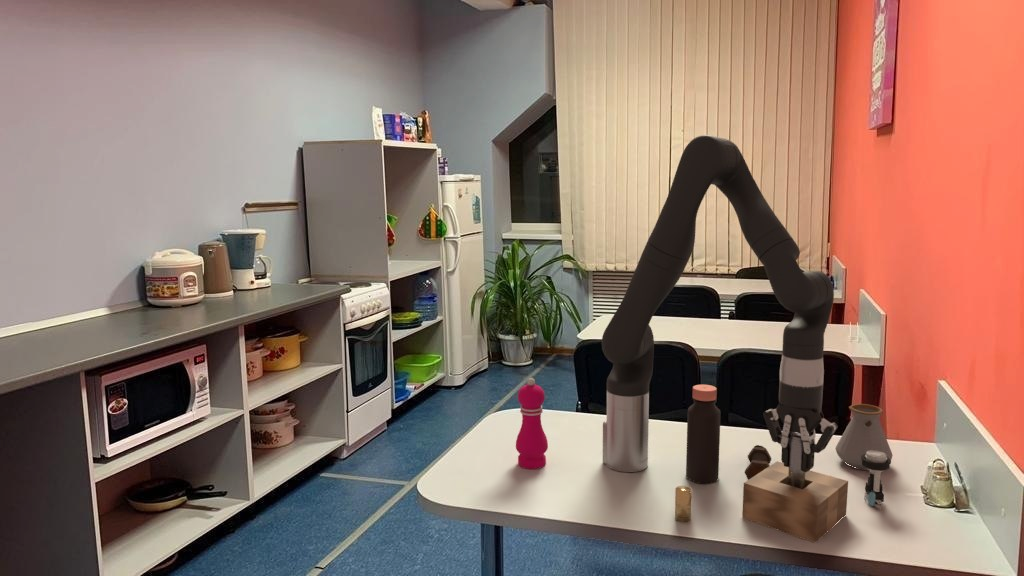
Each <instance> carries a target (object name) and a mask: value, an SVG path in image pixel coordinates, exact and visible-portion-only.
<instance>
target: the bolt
mask: <svg viewBox="0 0 1024 576" xmlns="http://www.w3.org/2000/svg"><path fill="white" fill-rule="evenodd" d="M747 460H748V461H749V464H748V465H747V467H746V469H745V470H744V474H745V476H746V479H747V480H749V479H751V478H752V477H754V476H755V475H757V474H758V473H760V472H761V471H763V470H764V469H766V468H768V467H769V466H770V463H771V461H772V456H771V454H770V453H769V451H768V449H767V448H766V447H765V446H763V445H759V444H758V445H757V444H756V445H755V446H753V448H752V449H751V450H750V451H749V453H748V454H747Z"/></svg>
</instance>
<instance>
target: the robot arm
mask: <svg viewBox="0 0 1024 576" xmlns="http://www.w3.org/2000/svg"><path fill="white" fill-rule="evenodd" d="M711 185H714V187H716V188H717V189H718V190H719V191H720V192H721V193H722V194H723V195H724V196H725V197H726V198H727V200H728V201H729V203H730V204H731V205H732V207H733V210H734V211H735V214H736V216H737V219H738V223H739V226H740V230H741V232H742V234H743V236H744V238H745V239H744V240H745V241H746V243H747V244H748V246H749V247H750V249H751V250H752V251H753V253H754V255H755V256H756V258H757V259H758V260H759V261H760V263H761V264H762V265H763V267H764V270H765V272H766V276H767V278H768V281H769V283H770V286H771V289H772V291H773V292H772V293H774V296H775V297H776V299H777V301H778V302H779V303H780V305H781V306H782V307H784V308H785V309H786V310H788V311H789V312H792V313H794V316H793V318H792V320H791V321H790V322H789V323H788V324H786V325H785V327H784V329H783V334H782V349H781V350H782V351H781V361H780V367H779V373H778V375H779V385H778V405H777V407H776V408H774V409H773V408H769V409H768V410H767V409H766V410H765V411H763V413H762V415H763V419H764V422H765V424H766V427H767V430H768V433H769V436H770V439H771V441H772V442H773V443H778V444H779V445H780V446H781V459H780V461H781V463H784V466H785V467H789V449H790V435H791V434H792V433H800V434H801V440H802V441H803V446H804V453H803V465H802V471H804V472H808V471H809V470H810V471H811V469H813V468H814V466H815V453H816V454H819V453H821V452H822V451H824V450H825V449H826V447H827V446H828V445H829V443H830V441H831V439H832V437H833V436H834V434H835V433H836V430H837V429H838V424H837V423H836V422H830V421H829V420H827V419H826V418H825V417H824V413H823V410H822V406H823V394H824V392H823V391H824V375H825V369H824V368H825V367H824V365H825V364H824V350H825V349H824V348H825V347H824V346H825V333H826V329H827V326H828V323H829V321H830V318H831V317H830V316H831V313H832V308H833V305H834V300H835V299H834V298H835V297H834V296H835V292H834V286H833V282H832V280H831V279H830V277H829V276H828V275H827V274H826V273H824V272H823V271H820V270H815V269H814V270H812V269H811V270H806V271H802V270H801V269H802V268H801V267H800V265H799V264H798V261H797V260H798V259H799V257H800V254H801V253H800V252H801V251H800V247H799V246H798V244H797V243H796V241H795V240H794V238H793V237H792V235H791V234H790V233H789V231H788V230H787V229H786V228H785V226H784V224H783V223H782V222H781V221H780V219H779V217H778V216H777V215H776V213H775V212H774V211H773V208H771V206H770V204H769V203H768V202H767V199H766V198H765V197H764V195H763V193H762V191H761V190H760V188H759V186H758V184H757V183H756V180H755V179H754V176H753V175H752V173H751V170H750V169H749V167H748V164H747V162H746V160H745V158H744V155H743V154H742V152H741V150H740V149H739V147H738V146H737V144H735V143H734V142H733V141H731V140H729V139H727V138H723V137H720V136H714V135H710V134H702V135H701V134H700V135H698V136H695V137H694V138H693V139H692V140H690V141H689V143H688V144H687V145H686V147H685V148H684V149H683V152H682V155H681V156H680V159H679V162H678V165H677V169H676V171H675V173H674V177H673V179H672V184H671V187H670V189H669V192H668V194H667V197H666V199H665V202H664V204H663V206H662V209H661V210H660V213H659V215H658V218H657V220H656V222H655V225H654V226H653V229H652V231H651V233H650V235H649V236H648V237H649V238H647V242H646V244H645V246H644V249H643V251H642V253H641V255H640V258H639V260H638V262H637V265H636V267H635V270H634V272H633V274H632V276H631V279H630V282H629V284H628V286H627V289H626V292H625V294H624V296H623V298H622V300H621V302H620V304H619V305H618V307H617V309H616V311H615V313H614V315H613V316H612V317H611V319H610V321H609V323H608V324H607V326H606V328H605V329H604V331H603V335H602V337H601V350H602V353H603V354H604V357H605V358H606V359H607V360H608V361H609V362H611V363H612V367H611V368H612V369H611V370H610V373H609V375H608V376H607V378H606V420H605V421H603V423H602V463H603V464H605V465H606V466H607V467H608V468H609V469H612V470H614V471H616V472H617V471H618V472H623V473H637V472H641V471H643V470H645V469H647V468H648V464H649V460H648V459H649V422H650V421H649V420H650V419H649V413H650V410H649V409H650V384H651V380H652V376H653V372H654V371H653V369H654V355H655V353H654V352H655V339H654V338H655V337H654V332H653V329H652V327H651V325H650V322H651V320H652V318H653V316H654V315H655V313H656V311H657V310H658V308H659V307H660V305H661V304H662V303H663V302H664V300H665V299H666V298H667V297H668V295H670V293H671V292H672V290H673V289H674V287H675V286H676V285H677V283H678V282H679V280H680V279H681V277H682V275H683V273H684V271H685V269H686V267H687V265H688V263H689V261H690V258H691V257H692V254H693V251H694V247H695V242H696V226H697V225H696V224H697V217H698V213H699V209H700V206H701V204H702V202H703V200H704V198H705V195H706V193H707V192H708V190H709V189H710V187H711ZM779 419H780V420H781V422H782V424H783V427H782V428H781V426H780V422H779ZM818 426H821V427H820V432H821V435H820V437H819V438H818V440H817V442H816V430H815V429H817V428H818Z"/></svg>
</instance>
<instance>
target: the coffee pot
mask: <svg viewBox="0 0 1024 576" xmlns="http://www.w3.org/2000/svg"><path fill="white" fill-rule="evenodd" d="M848 409H849V410H850V412H851V413H852V417H851V419H850V420H849V422H848V425H847V426H846V428H845V430H844V432H843V433H842V435H841V437H840V439H838V440H839V441H838V442H837V444H836V446H835V452H836V454H837V456H838V457H839V459H840V460H842V462H843V463H844V462H846V463H847V464H849V465H851V466H853V467H856V468H858V469H857V470H860V469H862V470H861V471H868V472H870V470H868V469H867V468H866V467H864V466H863V465H862V460H861V456H862V455H863V454H866V452H867V451H871V450H874V451H880V452H883V453H885V454H886V457H888V458H890V459H891V460H893V451H892V449H891V447H890V444H889V442H888V440H887V436H886V434H885V432H884V429H883V427H882V424H881V421H880V419H879V418H880V416H881V414H882V413H883V409H882V408H881V407H879V406H876V405H872V404H866V403H855V404H852V405H850V406H848Z"/></svg>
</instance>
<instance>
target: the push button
mask: <svg viewBox="0 0 1024 576" xmlns="http://www.w3.org/2000/svg"><path fill="white" fill-rule="evenodd" d="M861 460H862V465H863V466H864V467H866V468H867V469H868V470H870V471H869V474H868V475H869V476H868V477H867V482H865V486H864V491H865V492H864V498H863V500H864V502H867V501H868V503H869V505H870V506H871V507H876V508H877V509H880V510H881V509H882V508H883V507H882V505H883V503H884V501H885V499H884V498H885V494H884V493H883V489H884V486H883V484H882V480H881V473H882V472H885V471H887V470H888V469H890V465H891V464H892V459H890V458H888V457H886V454H885V453H883V452H880V451H874V450H871V451H867V452H866V454H863V455H862V456H861Z"/></svg>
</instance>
